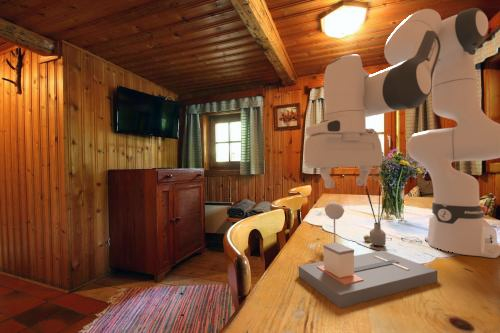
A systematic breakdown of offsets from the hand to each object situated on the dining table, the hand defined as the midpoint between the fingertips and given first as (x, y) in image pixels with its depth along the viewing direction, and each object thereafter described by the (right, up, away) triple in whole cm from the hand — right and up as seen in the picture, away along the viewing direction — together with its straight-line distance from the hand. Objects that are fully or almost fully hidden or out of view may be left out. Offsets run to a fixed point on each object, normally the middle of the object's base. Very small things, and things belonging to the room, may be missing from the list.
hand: (346, 186), depth 54 cm
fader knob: (-3, -19, -2) cm, 19 cm away
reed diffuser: (+19, -22, +24) cm, 38 cm away
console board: (+5, -22, 0) cm, 22 cm away
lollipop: (+6, -22, +23) cm, 33 cm away
